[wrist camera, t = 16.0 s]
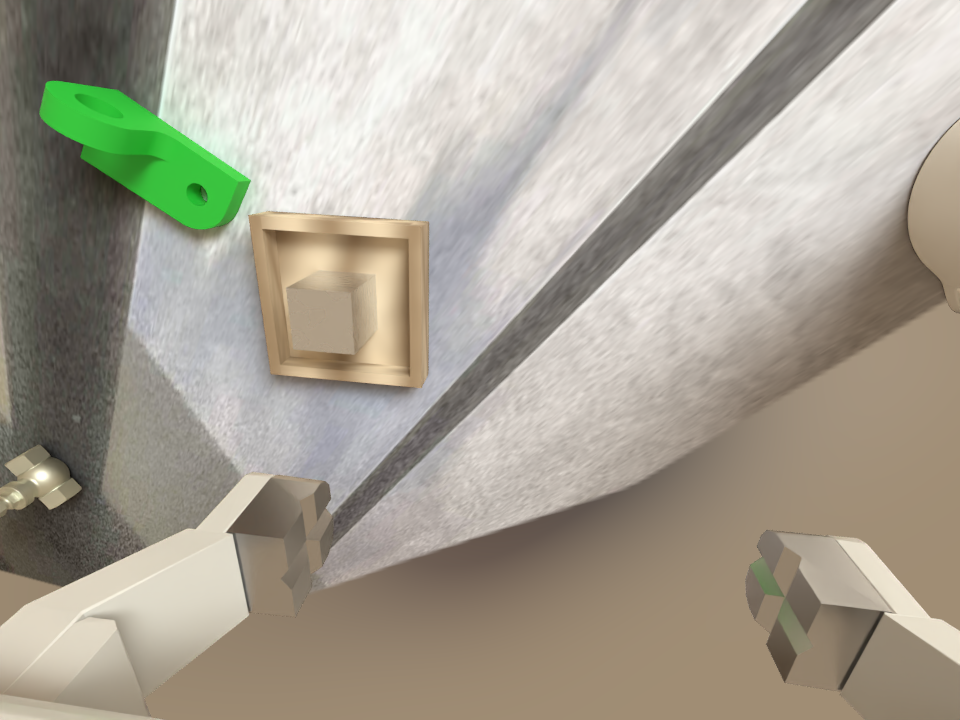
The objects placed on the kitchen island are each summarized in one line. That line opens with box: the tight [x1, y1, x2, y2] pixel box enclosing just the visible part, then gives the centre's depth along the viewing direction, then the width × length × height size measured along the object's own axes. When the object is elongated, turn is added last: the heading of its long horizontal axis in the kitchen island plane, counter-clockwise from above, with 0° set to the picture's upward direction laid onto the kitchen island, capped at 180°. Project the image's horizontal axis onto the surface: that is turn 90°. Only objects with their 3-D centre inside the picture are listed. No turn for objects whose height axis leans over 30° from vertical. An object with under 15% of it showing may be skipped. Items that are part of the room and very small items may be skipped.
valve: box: [0, 444, 82, 518], centre depth 50 cm, size 7×7×12 cm
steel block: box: [286, 270, 378, 355], centre depth 39 cm, size 5×5×6 cm
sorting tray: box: [248, 211, 429, 388], centre depth 42 cm, size 14×14×3 cm
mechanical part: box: [40, 81, 251, 229], centre depth 37 cm, size 12×6×8 cm, turn 56°
